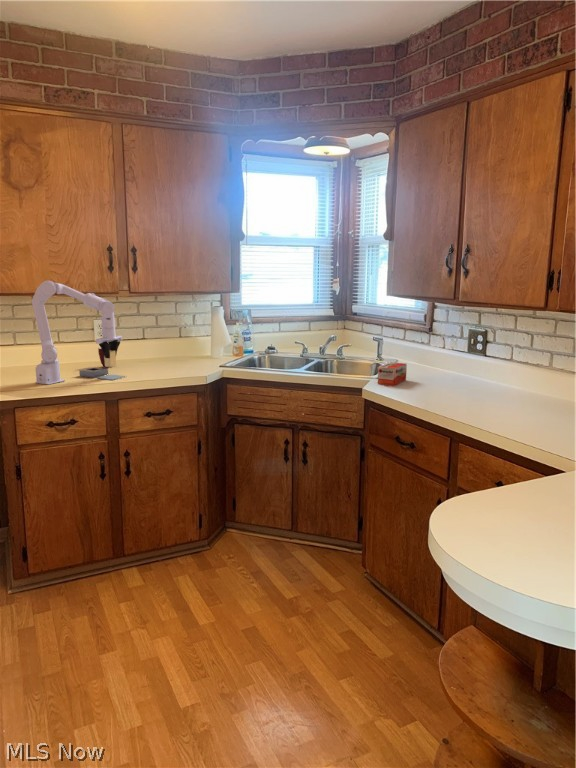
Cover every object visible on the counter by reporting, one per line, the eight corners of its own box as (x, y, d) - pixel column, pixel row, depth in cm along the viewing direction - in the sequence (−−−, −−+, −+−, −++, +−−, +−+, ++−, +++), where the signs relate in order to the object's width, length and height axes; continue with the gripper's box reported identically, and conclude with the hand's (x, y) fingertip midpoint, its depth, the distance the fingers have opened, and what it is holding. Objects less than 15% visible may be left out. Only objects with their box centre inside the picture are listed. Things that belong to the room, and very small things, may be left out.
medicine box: (389, 378, 252) (390, 361, 251) (406, 380, 248) (407, 363, 247) (376, 384, 240) (377, 366, 238) (394, 386, 236) (395, 368, 234)
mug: (105, 364, 286) (104, 345, 284) (120, 365, 285) (119, 346, 283) (96, 368, 276) (95, 348, 274) (112, 368, 275) (110, 349, 273)
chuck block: (94, 378, 251) (93, 371, 251) (79, 376, 255) (79, 370, 255) (108, 374, 259) (108, 368, 259) (94, 373, 263) (93, 367, 263)
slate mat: (112, 380, 247) (112, 379, 247) (97, 378, 251) (97, 377, 250) (126, 376, 255) (126, 376, 254) (111, 375, 258) (111, 374, 258)
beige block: (110, 367, 249) (109, 351, 248) (104, 366, 251) (103, 351, 249) (116, 365, 252) (115, 350, 251) (110, 365, 254) (109, 350, 252)
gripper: (103, 329, 240) (105, 360, 243) (126, 326, 252) (128, 355, 255) (91, 329, 243) (93, 359, 246) (114, 325, 255) (116, 354, 258)
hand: (110, 357), depth 251 cm, fingers closed on beige block, 3 cm apart
